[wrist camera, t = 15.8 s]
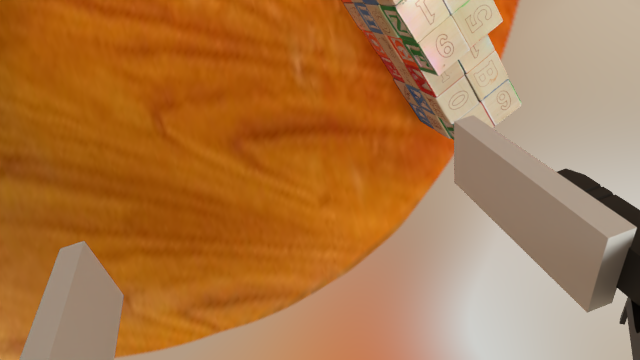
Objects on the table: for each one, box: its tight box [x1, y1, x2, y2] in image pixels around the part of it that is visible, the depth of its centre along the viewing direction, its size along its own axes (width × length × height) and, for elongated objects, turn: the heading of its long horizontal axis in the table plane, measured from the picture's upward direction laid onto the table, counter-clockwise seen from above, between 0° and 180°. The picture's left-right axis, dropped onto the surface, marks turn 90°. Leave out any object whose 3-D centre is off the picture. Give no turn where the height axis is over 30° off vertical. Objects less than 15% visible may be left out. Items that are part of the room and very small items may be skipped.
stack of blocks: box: [341, 0, 522, 140], centre depth 35 cm, size 21×6×12 cm, turn 37°
